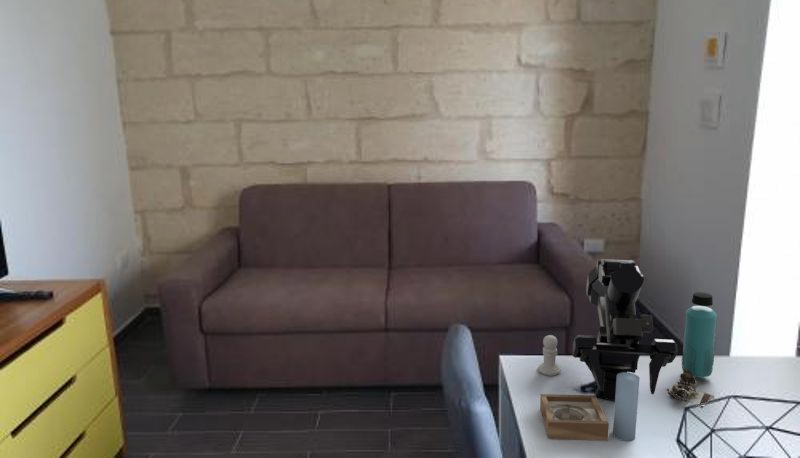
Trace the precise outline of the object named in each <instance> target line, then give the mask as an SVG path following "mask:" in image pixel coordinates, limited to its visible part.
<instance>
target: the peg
mask: <svg viewBox="0 0 800 458" xmlns="http://www.w3.org/2000/svg"><path fill="white" fill-rule="evenodd" d="M640 379H641V378H640V377H639V376H638V375H637V374H635V373H632V372H622V373H618V374H617V379H616V394H615V400H614V411H613V412H614V414H613V423H612V424H613V425H612V426H613V428H612V434H613V437H615V438H616V439H617V440H620V441H625V442H631V441H634V440H635V439H636V434H637V433H636V429H637V418H638V405H639V394H640V393H639V392H640V389H639V388H640Z"/></svg>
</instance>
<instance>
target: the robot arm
mask: <svg viewBox="0 0 800 458" xmlns="http://www.w3.org/2000/svg"><path fill="white" fill-rule="evenodd" d="M644 276H645V275H643V273H642V270H640V268H639V266H638V265H636V262H635V260H634V259H633V260H631V259H630V260H628V259H613V258H612V259H611V258H610V259H609V258H600V259H597V260H596V266H595V267H594V268H593V269H591V270H590V271H589V273H587V280H586V296H587V297H588V300H589V303H590V305H592V306H594V307H596V308H597V313H598V318H599V319H598V320H599V325H600V327H599V331H598V333H597V337H596V335H591V334H590V335H589V334H577V335H576V336H575V337H574V339H573V343H572V357H573V358H579V362H582V363H583V362H584V363H585V365H586V367H587V368H588V369H589V371H590V373H591V375H592V377H593V380H594V381H595V383H597V386H598V390H596V389H595V393H594V394H595V396H596V398H598V399H604V400H611V401H615V394H616V379H617V374H618V373H622V372H627V373H632V374H635V373H636V371H638V366H639V365H638V363H639V360H640V356H641V355H644V356H645V355H647V356H649V359H650V361H649V364H648V373H649V374H648V376H649V390H650V391H649V392H650V394H651V395H654V394H655V392H656V387H657V384H658V383H657V382H658V379H659V377H660V372H661V369H662V368H665V367H666V366H667V365H668V364H670V363H673V362H674V360H675V359H676V357H677V356H678V354H679V347H678V343H677V342H676V341H675V340H674V339H665V338H664V339H661V338H654V339H653V341H652V343H651V344H643V343H641V344H640V343H639V342H641V341H642V339H643V338H642V337H644V336H643V335H644V334H643V333H653V331H654V321H653V315H652V314H650V315H649V314H642V315H641V314H640V317H639V318H638V317H637V313H636V312H637V311H636V302H637V299H638V298H639V295H640V292H641V290H642V286H643V283H644V281H645V280H644V279H645V277H644Z"/></svg>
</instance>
